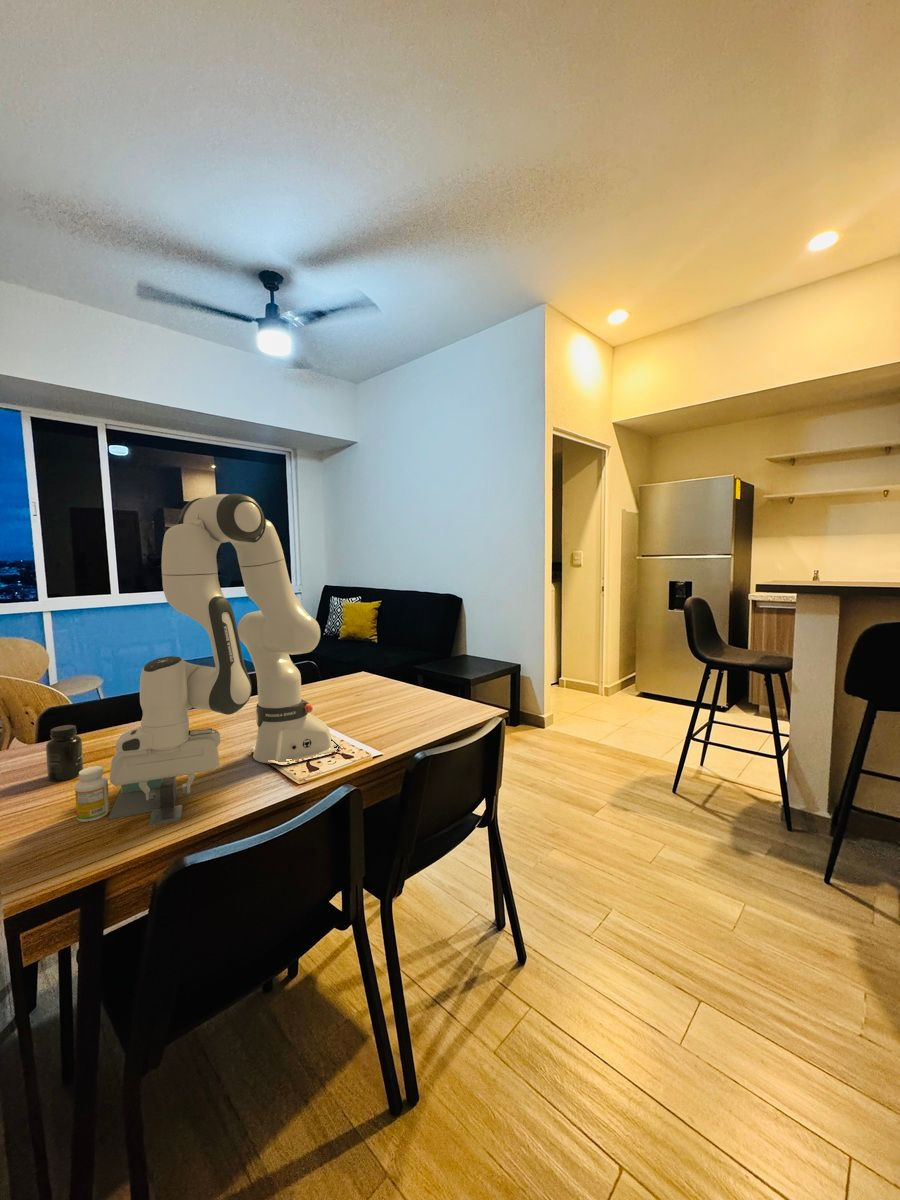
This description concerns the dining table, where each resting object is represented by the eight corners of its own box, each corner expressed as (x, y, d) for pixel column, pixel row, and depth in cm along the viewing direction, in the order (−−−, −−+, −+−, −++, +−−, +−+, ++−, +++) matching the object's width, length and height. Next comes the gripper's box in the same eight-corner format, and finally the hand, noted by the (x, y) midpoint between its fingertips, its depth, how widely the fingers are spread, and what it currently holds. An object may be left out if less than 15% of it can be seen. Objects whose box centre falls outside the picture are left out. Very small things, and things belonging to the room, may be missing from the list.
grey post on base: (156, 798, 107) (155, 776, 106) (184, 793, 109) (183, 772, 109) (148, 827, 95) (147, 802, 95) (180, 820, 98) (179, 797, 97)
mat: (168, 773, 119) (168, 772, 119) (159, 810, 102) (159, 808, 102) (125, 780, 115) (125, 779, 115) (108, 819, 98) (108, 817, 98)
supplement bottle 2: (88, 809, 102) (85, 764, 101) (115, 808, 102) (112, 764, 102) (70, 823, 97) (67, 776, 96) (98, 822, 97) (95, 775, 96)
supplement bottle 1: (88, 774, 118) (85, 726, 117) (53, 785, 113) (50, 735, 112) (77, 767, 122) (74, 721, 121) (43, 777, 117) (40, 729, 116)
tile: (163, 782, 113) (161, 741, 112) (162, 787, 111) (160, 744, 110) (123, 789, 110) (120, 746, 109) (121, 794, 108) (118, 750, 107)
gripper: (219, 722, 111) (221, 780, 112) (112, 735, 102) (115, 798, 103) (219, 731, 105) (221, 792, 106) (106, 746, 96) (109, 812, 97)
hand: (168, 795), depth 105 cm, fingers open, 5 cm apart
